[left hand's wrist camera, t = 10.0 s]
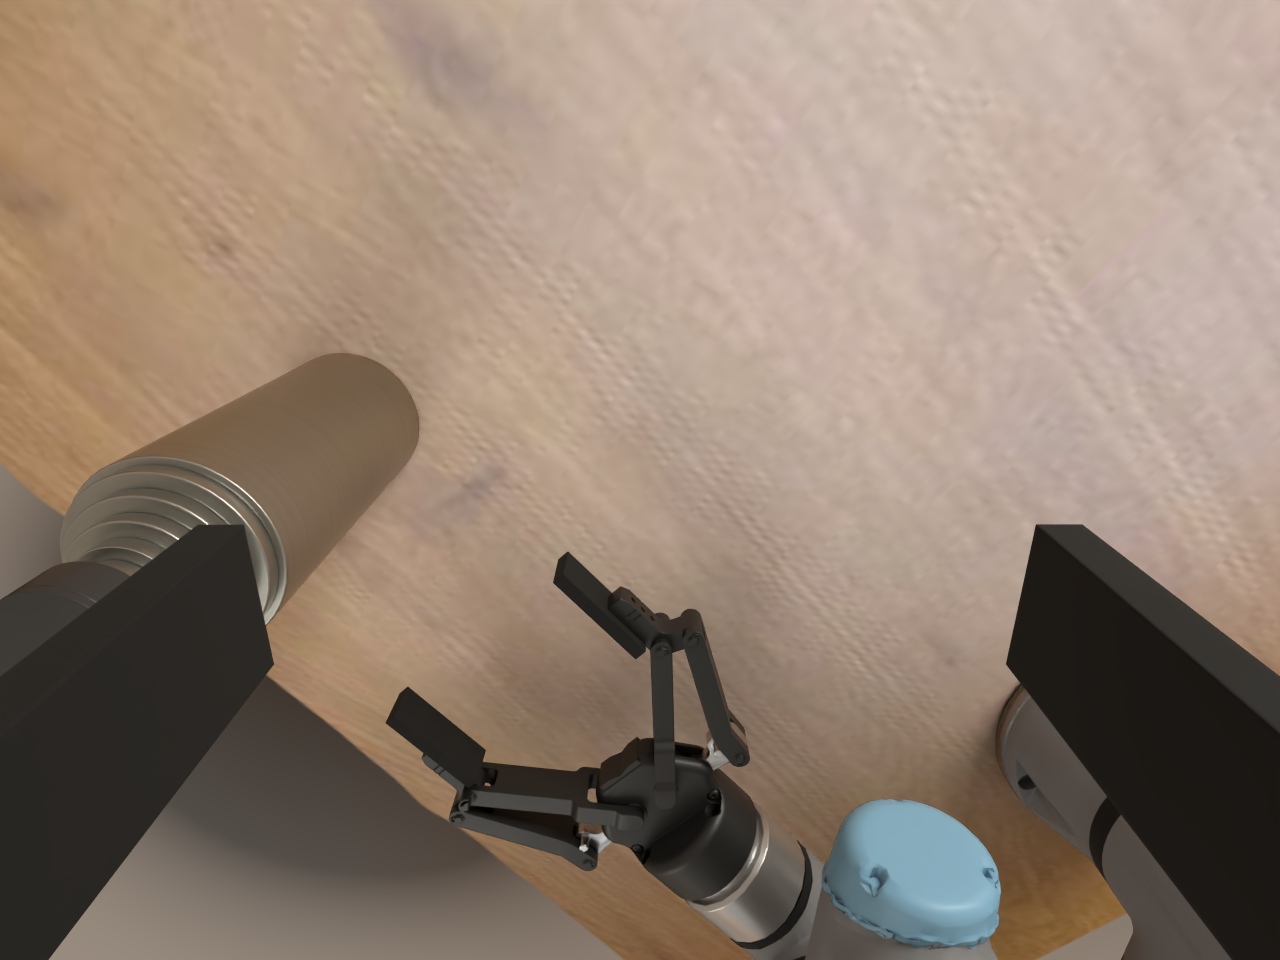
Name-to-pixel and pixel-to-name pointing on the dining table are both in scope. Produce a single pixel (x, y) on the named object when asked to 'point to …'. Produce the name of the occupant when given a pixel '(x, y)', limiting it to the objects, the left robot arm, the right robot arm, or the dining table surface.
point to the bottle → (256, 475)
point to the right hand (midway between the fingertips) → (474, 637)
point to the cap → (50, 605)
